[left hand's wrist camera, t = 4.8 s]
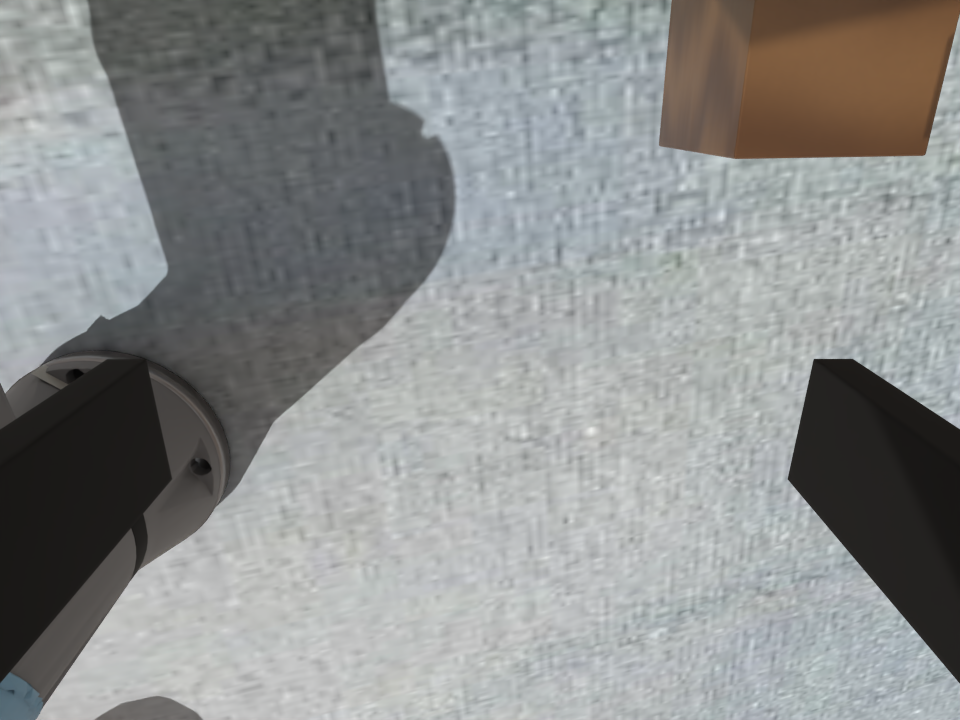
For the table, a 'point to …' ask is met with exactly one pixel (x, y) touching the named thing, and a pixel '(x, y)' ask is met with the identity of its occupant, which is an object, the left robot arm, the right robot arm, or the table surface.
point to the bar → (805, 76)
